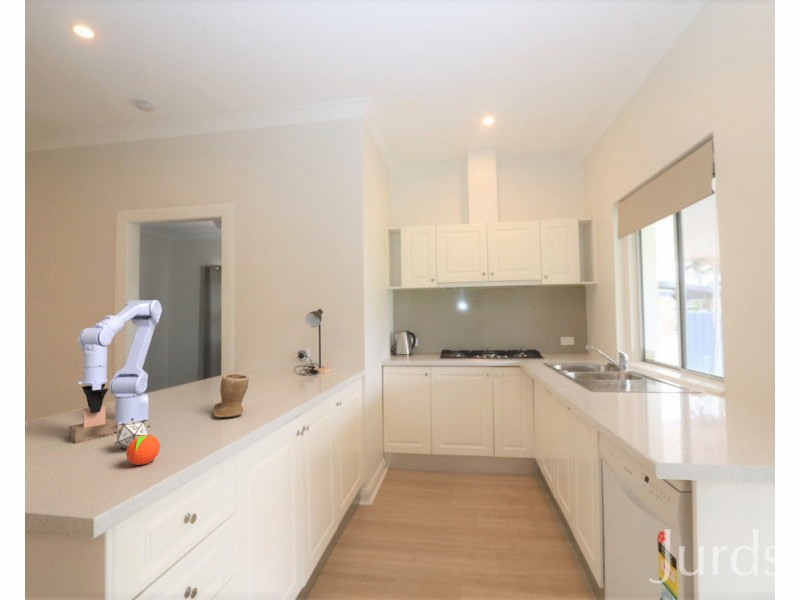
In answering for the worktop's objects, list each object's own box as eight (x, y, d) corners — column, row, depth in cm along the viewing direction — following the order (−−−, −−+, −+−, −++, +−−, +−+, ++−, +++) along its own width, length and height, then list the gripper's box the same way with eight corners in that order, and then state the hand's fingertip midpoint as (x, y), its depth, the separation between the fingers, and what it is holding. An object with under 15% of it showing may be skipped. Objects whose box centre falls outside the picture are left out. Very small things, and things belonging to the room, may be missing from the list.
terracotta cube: (103, 420, 115) (104, 405, 115) (105, 424, 111) (105, 407, 112) (83, 424, 112) (83, 408, 112) (83, 427, 108) (84, 411, 108)
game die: (141, 460, 101) (165, 430, 103) (111, 460, 94) (137, 428, 95) (129, 439, 106) (152, 411, 107) (98, 438, 98) (124, 407, 100)
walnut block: (109, 430, 118) (109, 418, 118) (117, 435, 113) (117, 422, 113) (68, 439, 110) (68, 426, 110) (75, 444, 105) (75, 431, 105)
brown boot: (249, 417, 130) (249, 375, 131) (212, 421, 125) (212, 378, 126) (247, 407, 144) (247, 369, 145) (213, 411, 139) (214, 372, 140)
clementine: (152, 469, 87) (153, 439, 87) (118, 473, 85) (119, 442, 85) (163, 456, 94) (164, 429, 95) (133, 460, 92) (133, 432, 93)
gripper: (76, 365, 115) (75, 408, 114) (79, 370, 104) (78, 417, 104) (105, 362, 119) (104, 404, 119) (110, 367, 109) (109, 412, 109)
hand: (94, 410), depth 112 cm, fingers open, 7 cm apart
